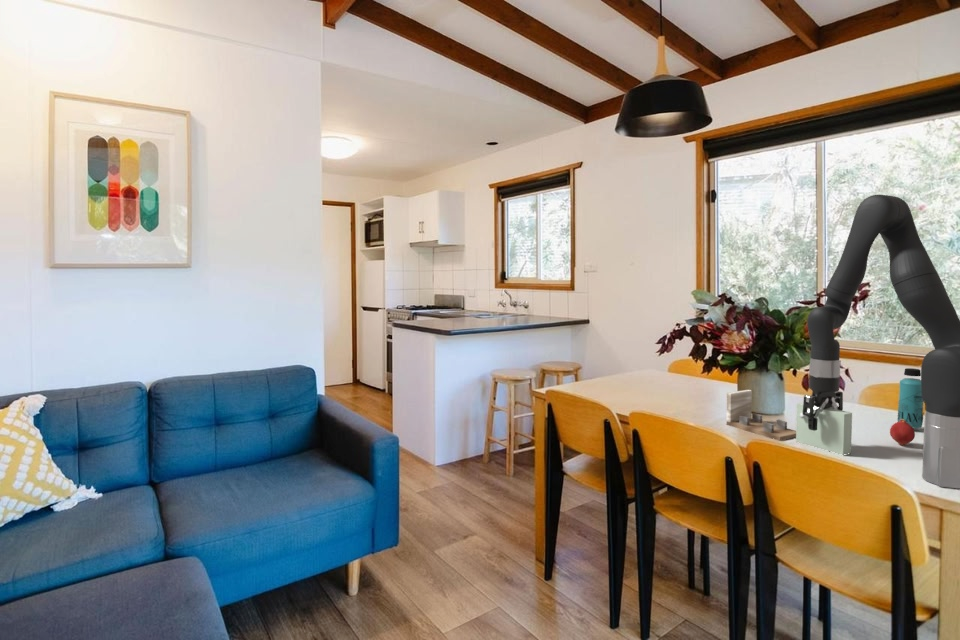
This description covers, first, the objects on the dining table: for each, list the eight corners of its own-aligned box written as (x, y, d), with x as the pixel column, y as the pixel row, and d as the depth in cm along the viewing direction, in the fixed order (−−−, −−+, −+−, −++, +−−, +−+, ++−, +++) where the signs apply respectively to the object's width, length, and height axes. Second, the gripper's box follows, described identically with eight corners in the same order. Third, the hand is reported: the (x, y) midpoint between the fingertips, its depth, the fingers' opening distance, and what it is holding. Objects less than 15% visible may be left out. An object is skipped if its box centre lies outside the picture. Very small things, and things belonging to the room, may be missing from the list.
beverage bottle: (892, 428, 169) (894, 368, 168) (904, 425, 172) (907, 366, 170) (915, 433, 163) (917, 371, 161) (927, 430, 166) (930, 369, 164)
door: (850, 453, 147) (852, 412, 146) (840, 456, 145) (841, 414, 144) (803, 440, 160) (804, 402, 159) (793, 442, 158) (794, 404, 157)
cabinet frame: (801, 436, 164) (802, 401, 163) (779, 440, 160) (780, 405, 159) (747, 420, 182) (747, 389, 181) (726, 424, 178) (726, 392, 177)
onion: (889, 440, 157) (890, 415, 156) (914, 444, 153) (915, 417, 153) (889, 445, 152) (890, 419, 152) (914, 449, 149) (915, 422, 148)
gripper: (827, 369, 157) (825, 421, 159) (795, 374, 152) (793, 427, 153) (853, 373, 150) (851, 428, 152) (820, 378, 145) (818, 434, 146)
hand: (822, 427), depth 153 cm, fingers open, 8 cm apart
